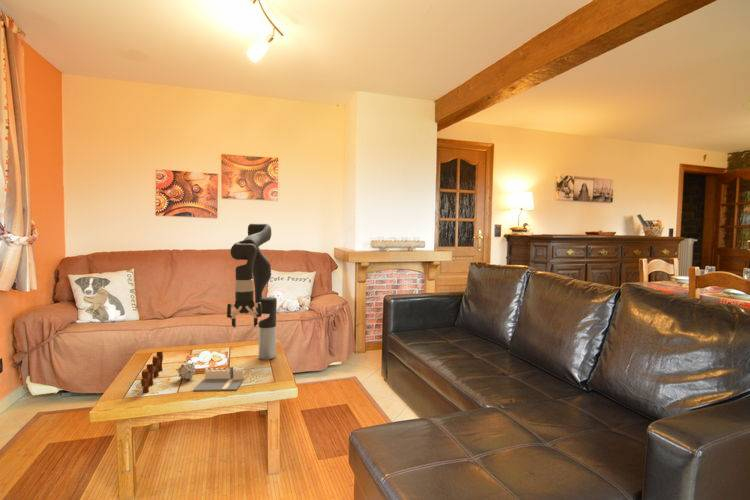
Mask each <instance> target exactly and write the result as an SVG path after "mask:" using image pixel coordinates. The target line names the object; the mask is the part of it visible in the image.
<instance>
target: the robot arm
mask: <svg viewBox="0 0 750 500" xmlns="http://www.w3.org/2000/svg"><path fill="white" fill-rule="evenodd" d="M271 237H272V227H271V225H270V224H269V223H259V222H258V223H250V224H248V227H247V236H246V237H245V238H244V239H242V240H240V241H237V242H235V243H234V244H233V245H232V246H231V248H230V252H229V253H230V256H231V258H233V259H234V260H236V261H246V263H245V264H241V265H237V266H236V267H235V284H234V293H235V295H234V301H235V302H234V303H232V302H229V303H228V304H227V307H226V308H227V309H226V317H227V318H229V319H231V326H232V327H233V328H236V327H237V319H236V317H237V315H238V314H244V313H245V314H251V315H252V317H253V328H254V327H257V326H258V358H259V360H263V361H264V360H271V359H272V360H273V359H275V358H276V357H277V308H278V307H277V306H278V305H277V299H276V297H275V296H263V292H264V289H265V287H266V285H267V284H268V283H269V281H270V279H271V277H272V270H271V269H272V268H271V267H272V266H271V262H270V261H269V259H268V258H267V257H266V255H265V254H264V253H263V252H262V250H261V248H260V246H262V245H263V244H265V243H267V242H269V241H270V240H271ZM233 307H234V308H235V310H236V311H235V312H234V313H233V314H232V309H233ZM254 307H255V310H254ZM262 315H269V316H267V317H266V318H264V319H261V320H258V319H259V318H261V317H262Z"/></svg>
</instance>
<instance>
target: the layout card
mask: <svg viewBox="0 0 750 500" xmlns="http://www.w3.org/2000/svg"><path fill="white" fill-rule="evenodd" d="M244 381H245V378H244V379H234V377H233V378H232V379H231V378H228V379H205V377H204V378H203V379H202V380H201V381H200V382H199V383H198V384H197V385H196V386H195V387H194V388H193V389H192V392H220V391H221V392H222V391H223V392H228V391H233V392H235V391H238V389H239V388H240V386H241V385H242V384H243V382H244Z"/></svg>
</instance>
